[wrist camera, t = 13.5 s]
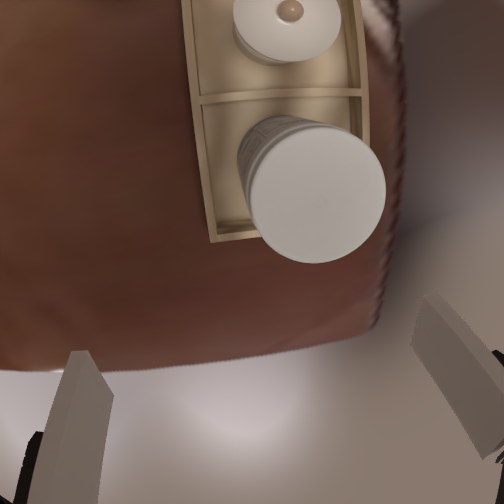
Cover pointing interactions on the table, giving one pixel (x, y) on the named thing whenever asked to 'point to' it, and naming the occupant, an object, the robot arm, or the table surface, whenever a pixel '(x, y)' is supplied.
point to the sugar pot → (284, 29)
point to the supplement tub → (310, 187)
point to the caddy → (262, 100)
